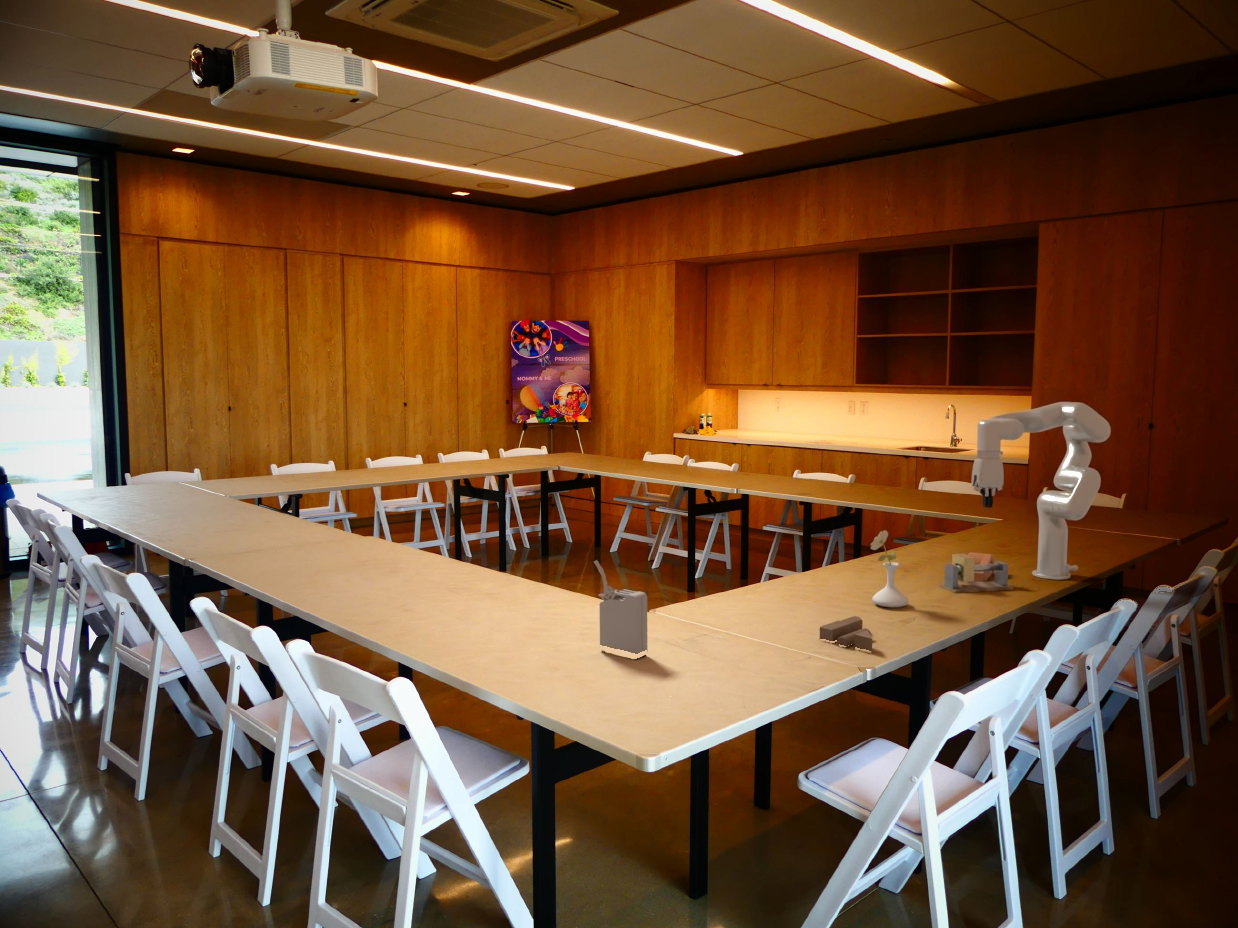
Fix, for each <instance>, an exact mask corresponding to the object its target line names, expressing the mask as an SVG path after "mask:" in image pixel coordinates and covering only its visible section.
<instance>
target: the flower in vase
mask: <svg viewBox="0 0 1238 928" xmlns="http://www.w3.org/2000/svg"><path fill="white" fill-rule="evenodd" d="M888 537H889V531H887V530H886V529H884V530H883V531H882V530H881V531H879V533H878V535H877V536H875V537H874V539H873V541H872V542H871V543H870V550H873V551H877V550H878V549H879V548H880V547H882V546H883V548H884V551H885V554H882V555H880V556H879V558H878V559H877V562H883V561H885V560H886V559H887V560H888V561H886V562H883V563H882V564H883V566H884V567H885V570H886V577H887V578H886V579H887V581H886V585H885V587H883V588H882V589H881V590H878V591H877V592H876V593H875V594H874V595H873V596H872V599H871V601H872V602H873V603H874V604H875V605H878V606H881V607H885V608H886V607H887V608H902V607H904V606H908V604H909V603H910V601H909V598H908V597H907V596H906V595H905V594H904V593H903V592H901V590H899V588H897V587H896V584H895V577H896V576H895V575H896V571H897V569H898V567H899V566H900V564H899V562H895V561H894V562H893V560H895V559H896V558H897V552H896V551H893V552H892V553H890V554H888V552H887V551H888V550H887V549H886V546H885V542H886V541H887V538H888ZM891 561H892V562H891Z"/></svg>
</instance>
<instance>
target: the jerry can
mask: <svg viewBox="0 0 1238 928" xmlns="http://www.w3.org/2000/svg"><path fill="white" fill-rule="evenodd" d="M593 563H594V564H595V567H596V569H597V570H598V572H599V573H600V575H601V579H602V583H603V593H599V594H598V597H599V598H601V600H602V601H600V603H599V646H600V645H602V646H607V647H610V648H614V649H620V650H624V651H628V652H631V653H635V654H638V653H640V652H642V651H645V650H647V651H648V596H647V593H646V592H645V591H639V590H638V591H634V590H629V589H625V588H624V589H622V590H618V589H616V588H612V586H610V585H608V580H607V577H606V573H605V570H604V568H603V567H602V565H600V562H599V561H598V559H596V560H594V561H593Z"/></svg>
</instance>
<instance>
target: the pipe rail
mask: <svg viewBox="0 0 1238 928" xmlns="http://www.w3.org/2000/svg"><path fill="white" fill-rule="evenodd" d="M984 571H993V581H994V583H996V584H998V585H1001V586H1009V585H1008V583H1009V563H1006V562H1004V561H1000V560H997V561H994V564H979V565H974V572H984ZM958 573H961V565H960V566H955V565H953V564H952V563H945V566H944V584H945V586H947V587H949V588H951V589H958V583H959V580H958Z"/></svg>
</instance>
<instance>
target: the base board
mask: <svg viewBox="0 0 1238 928" xmlns="http://www.w3.org/2000/svg"><path fill="white" fill-rule="evenodd" d="M938 586H939V587H940V588H942V589H945V590H946V591H949V592H952V593H954V594H962V593H963V594H964V593H981V591H983V592H997V591H998V590H1000V591H1012V590H1014V587H1013V586H1012V585H1011V586H1010V585H1008V586H1001V585H998V584H996V583H994V580H986V581H983V582H958V589H951V588H949V587H947V586H945V583H939V585H938ZM998 592H999V591H998Z"/></svg>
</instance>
